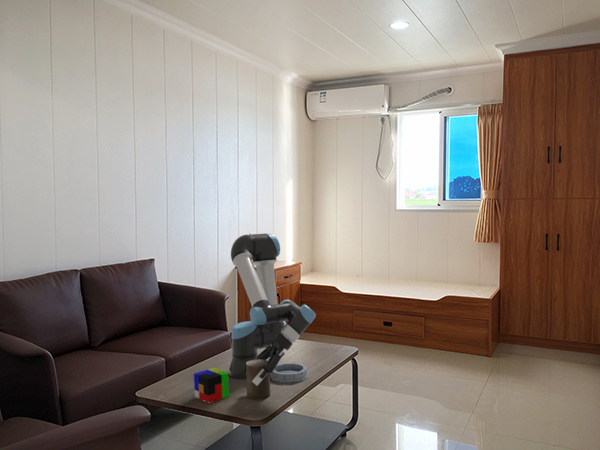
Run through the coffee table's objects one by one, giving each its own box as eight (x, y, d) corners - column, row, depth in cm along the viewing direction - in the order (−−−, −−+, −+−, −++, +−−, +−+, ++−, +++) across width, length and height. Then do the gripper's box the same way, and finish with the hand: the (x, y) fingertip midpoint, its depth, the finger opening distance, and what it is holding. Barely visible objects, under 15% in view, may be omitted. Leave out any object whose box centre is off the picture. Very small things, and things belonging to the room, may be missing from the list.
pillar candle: (267, 400, 205) (266, 363, 204) (243, 399, 206) (243, 362, 206) (272, 391, 215) (271, 356, 214) (250, 390, 216) (249, 355, 216)
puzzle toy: (194, 397, 210) (193, 373, 210) (214, 390, 217) (214, 367, 217) (208, 403, 203) (207, 379, 203) (229, 396, 210) (228, 372, 210)
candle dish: (263, 379, 229) (263, 371, 229) (281, 368, 244) (281, 360, 244) (297, 385, 221) (297, 376, 221) (314, 372, 236) (313, 365, 236)
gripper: (301, 350, 203) (264, 394, 199) (285, 336, 225) (252, 375, 222) (288, 338, 201) (250, 382, 197) (273, 325, 224) (239, 364, 220)
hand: (251, 378), depth 209 cm, fingers open, 11 cm apart
